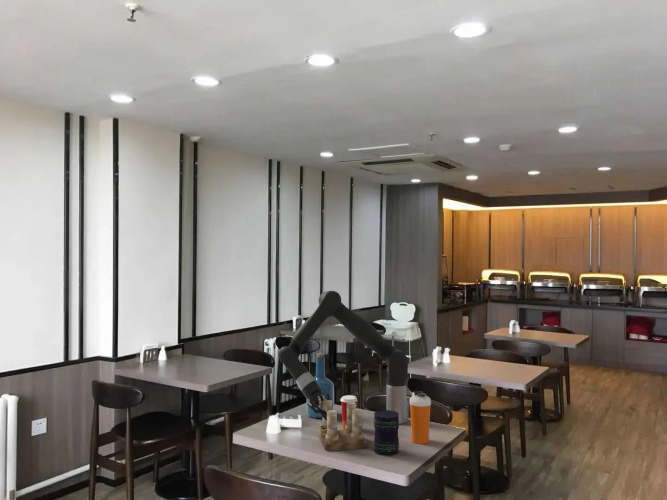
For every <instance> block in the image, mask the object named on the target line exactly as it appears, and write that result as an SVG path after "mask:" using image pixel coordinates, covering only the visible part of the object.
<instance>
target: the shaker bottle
mask: <svg viewBox="0 0 667 500" xmlns="http://www.w3.org/2000/svg"><path fill="white" fill-rule="evenodd" d="M427 395H428V394H427V393H423V391H412V395H411V396H410V398H409V402H408V405H409V407H410V409H409V411H410V428H411V429H410V431H411V432H410V433H411V442H412V443H414V444H418V445H425V444H426V445H427V444H428V443H429V442H430V424H431V423H430V422H431V420H430V419H431V405H432V399H431V398H430V397H429V396H427Z"/></svg>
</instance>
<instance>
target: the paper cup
mask: <svg viewBox="0 0 667 500" xmlns="http://www.w3.org/2000/svg"><path fill="white" fill-rule="evenodd" d="M339 401H340V402H341V403H340V404H341V417H342V420H341V421H342V430H345V426H346V425H347V403H349V402H354V403H356V409H358V408H357V407H358V406H357V405H358V401H359V400H358V399H357V396H355V395H343V396H342V397H340V400H339Z"/></svg>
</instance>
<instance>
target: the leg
mask: <svg viewBox="0 0 667 500" xmlns="http://www.w3.org/2000/svg"><path fill="white" fill-rule="evenodd" d="M323 408H324V411H326V412H327V411H329V410H332V401H331V400H324V401H323ZM322 425H323V430H325V429H327V421H326V420H325V419H324V418H322Z"/></svg>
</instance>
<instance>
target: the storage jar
mask: <svg viewBox="0 0 667 500" xmlns="http://www.w3.org/2000/svg"><path fill="white" fill-rule="evenodd" d="M380 406H384V404H383V403H380ZM373 415H374V417H373V427H374V437H373V441H374V442H373V446H374V450H373V451H374V454H376V455H378V456H382V457H383V456H385V457H393V456H396V455H398V454H399V452H400V451H399V448H400V447H399V446H400V438H399V428H400V424H399V417H398V416H399V413H397V412H395V411H390V410H387V409H385V410H384V409H383V410H377V411H375V412H374V413H373Z"/></svg>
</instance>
